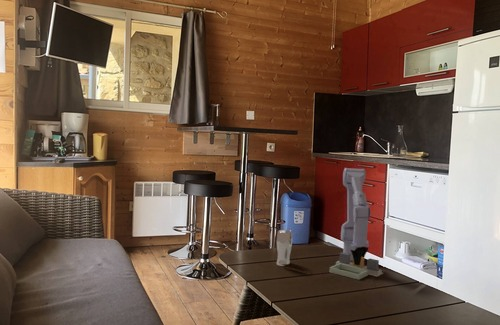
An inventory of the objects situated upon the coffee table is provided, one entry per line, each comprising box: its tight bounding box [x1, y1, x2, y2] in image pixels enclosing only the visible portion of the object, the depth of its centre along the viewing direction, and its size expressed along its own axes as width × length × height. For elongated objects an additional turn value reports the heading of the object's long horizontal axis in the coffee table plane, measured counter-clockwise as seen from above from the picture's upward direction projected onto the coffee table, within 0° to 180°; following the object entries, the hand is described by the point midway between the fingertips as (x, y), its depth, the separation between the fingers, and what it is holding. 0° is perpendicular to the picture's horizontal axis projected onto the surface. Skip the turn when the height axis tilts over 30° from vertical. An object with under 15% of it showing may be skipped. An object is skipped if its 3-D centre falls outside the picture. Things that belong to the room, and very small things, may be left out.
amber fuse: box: [352, 257, 365, 268], centre depth 180 cm, size 2×4×6 cm, turn 51°
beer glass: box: [275, 229, 293, 267], centre depth 185 cm, size 7×7×15 cm
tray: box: [328, 263, 369, 280], centre depth 174 cm, size 9×13×3 cm
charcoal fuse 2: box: [366, 258, 380, 271], centre depth 176 cm, size 2×4×6 cm, turn 51°
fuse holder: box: [335, 260, 384, 277], centre depth 181 cm, size 7×20×2 cm, turn 51°
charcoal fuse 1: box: [338, 251, 351, 264], centre depth 185 cm, size 2×4×6 cm, turn 50°
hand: (358, 264), depth 180 cm, fingers closed on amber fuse, 2 cm apart
